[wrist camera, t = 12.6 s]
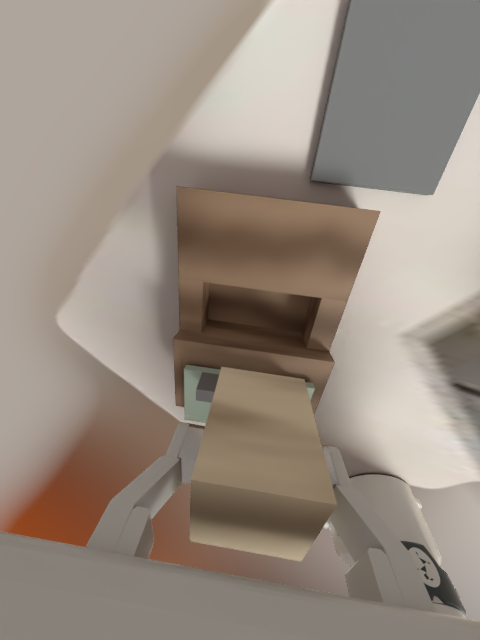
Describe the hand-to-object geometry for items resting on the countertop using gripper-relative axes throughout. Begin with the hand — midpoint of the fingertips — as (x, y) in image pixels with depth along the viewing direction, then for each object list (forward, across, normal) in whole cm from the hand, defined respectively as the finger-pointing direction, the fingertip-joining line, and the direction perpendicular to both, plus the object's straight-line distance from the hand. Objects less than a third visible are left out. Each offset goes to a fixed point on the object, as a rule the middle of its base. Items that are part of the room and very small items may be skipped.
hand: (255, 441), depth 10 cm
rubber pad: (+18, -8, -19) cm, 27 cm away
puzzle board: (+18, 0, +1) cm, 18 cm away
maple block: (+2, 0, 0) cm, 2 cm away
